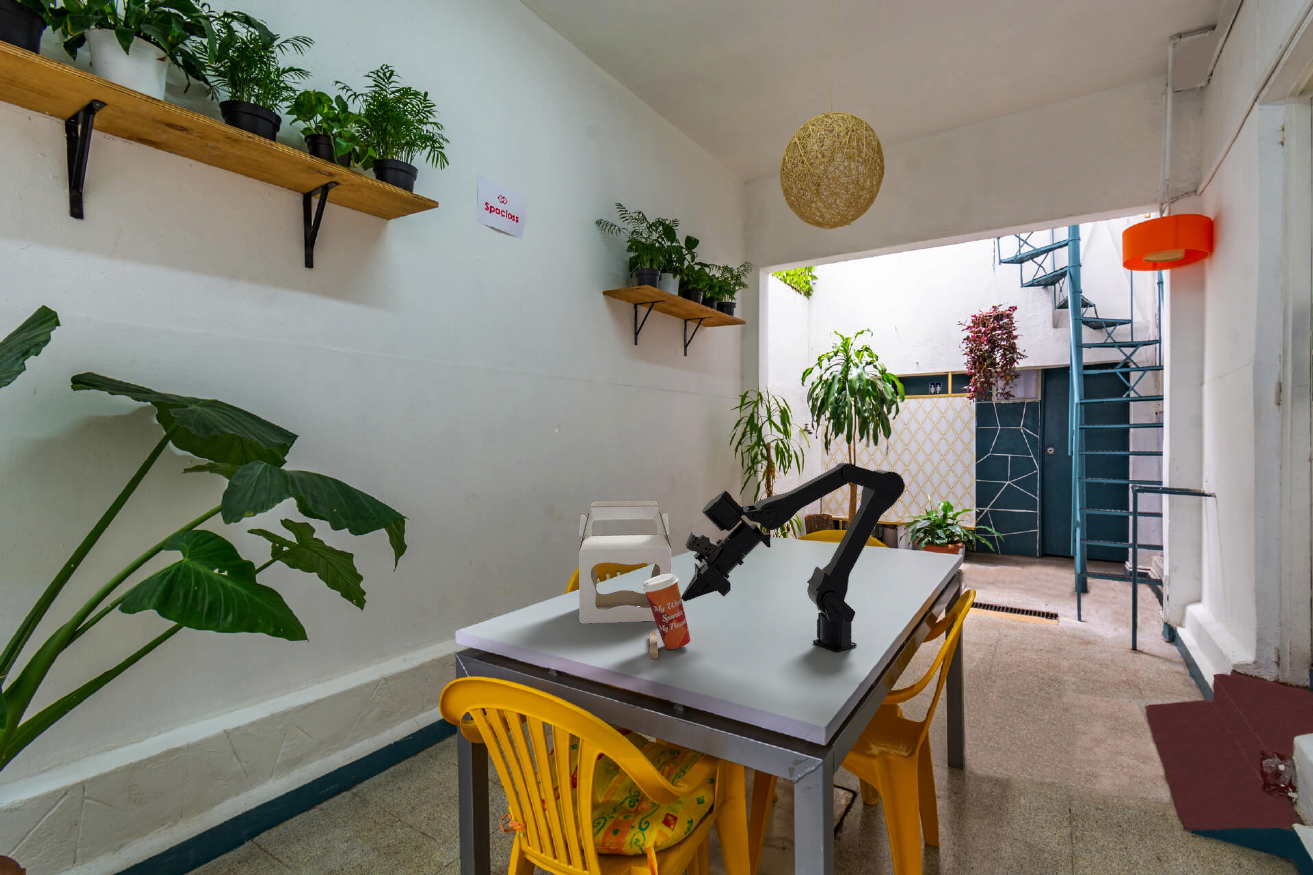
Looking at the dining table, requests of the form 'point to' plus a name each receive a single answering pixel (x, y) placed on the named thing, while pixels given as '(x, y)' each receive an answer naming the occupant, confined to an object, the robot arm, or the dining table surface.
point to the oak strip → (653, 645)
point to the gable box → (620, 560)
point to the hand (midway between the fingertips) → (682, 599)
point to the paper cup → (668, 610)
